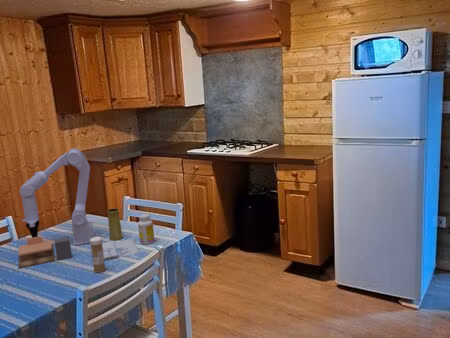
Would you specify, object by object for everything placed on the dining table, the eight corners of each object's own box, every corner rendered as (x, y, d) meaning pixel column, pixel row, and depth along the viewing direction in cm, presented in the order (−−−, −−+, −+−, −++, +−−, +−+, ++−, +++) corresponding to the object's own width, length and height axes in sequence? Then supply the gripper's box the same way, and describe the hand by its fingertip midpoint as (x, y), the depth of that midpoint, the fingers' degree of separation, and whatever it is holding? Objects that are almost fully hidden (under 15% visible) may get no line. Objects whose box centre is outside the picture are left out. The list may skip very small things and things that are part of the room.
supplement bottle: (156, 239, 198) (153, 213, 196) (152, 244, 192) (149, 217, 189) (142, 239, 199) (139, 213, 196) (138, 245, 193) (135, 218, 190)
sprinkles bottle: (91, 271, 168) (87, 239, 165) (101, 267, 171) (97, 235, 169) (98, 274, 165) (93, 241, 162) (108, 269, 168) (104, 237, 166)
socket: (53, 245, 198) (52, 239, 197) (54, 261, 180) (53, 253, 179) (20, 252, 193) (19, 245, 192) (18, 268, 175) (17, 261, 174)
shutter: (51, 241, 193) (49, 234, 192) (51, 249, 183) (50, 241, 182) (19, 247, 188) (18, 239, 187) (18, 256, 178) (17, 248, 178)
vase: (125, 236, 204) (121, 208, 201) (118, 241, 199) (114, 212, 196) (114, 235, 206) (110, 207, 203) (107, 240, 201) (103, 211, 198)
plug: (71, 254, 186) (69, 237, 185) (72, 257, 183) (69, 240, 181) (56, 257, 184) (54, 240, 182) (57, 260, 181) (54, 243, 179)
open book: (90, 248, 194) (90, 243, 193) (135, 240, 200) (134, 236, 200) (92, 264, 176) (91, 259, 176) (141, 255, 182) (140, 250, 182)
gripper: (21, 206, 197) (25, 234, 200) (20, 214, 184) (25, 244, 187) (37, 204, 200) (41, 231, 202) (37, 212, 187) (42, 241, 189)
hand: (35, 237), depth 195 cm, fingers closed
